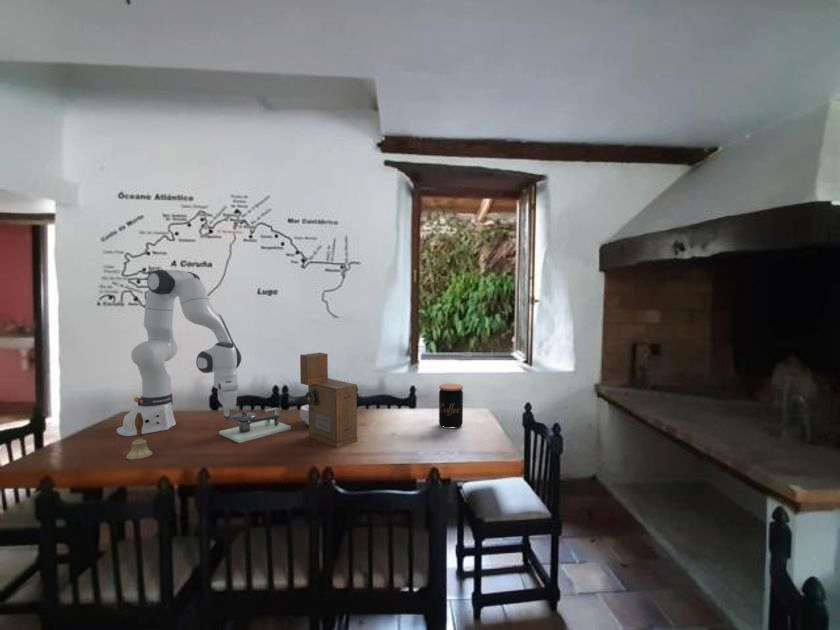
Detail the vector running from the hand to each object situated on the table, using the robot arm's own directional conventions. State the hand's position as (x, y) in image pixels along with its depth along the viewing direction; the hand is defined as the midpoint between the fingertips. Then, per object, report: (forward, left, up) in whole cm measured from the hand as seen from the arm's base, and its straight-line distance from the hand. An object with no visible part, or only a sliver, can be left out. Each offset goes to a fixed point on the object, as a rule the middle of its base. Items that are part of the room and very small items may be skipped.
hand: (226, 415), depth 186 cm
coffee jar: (+76, -57, -10) cm, 96 cm away
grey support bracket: (+21, +1, -9) cm, 23 cm away
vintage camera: (+28, -31, -10) cm, 43 cm away
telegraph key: (+11, 0, -8) cm, 13 cm away
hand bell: (-30, +7, -10) cm, 32 cm away
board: (+13, +1, -10) cm, 16 cm away
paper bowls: (+38, -9, -10) cm, 40 cm away
